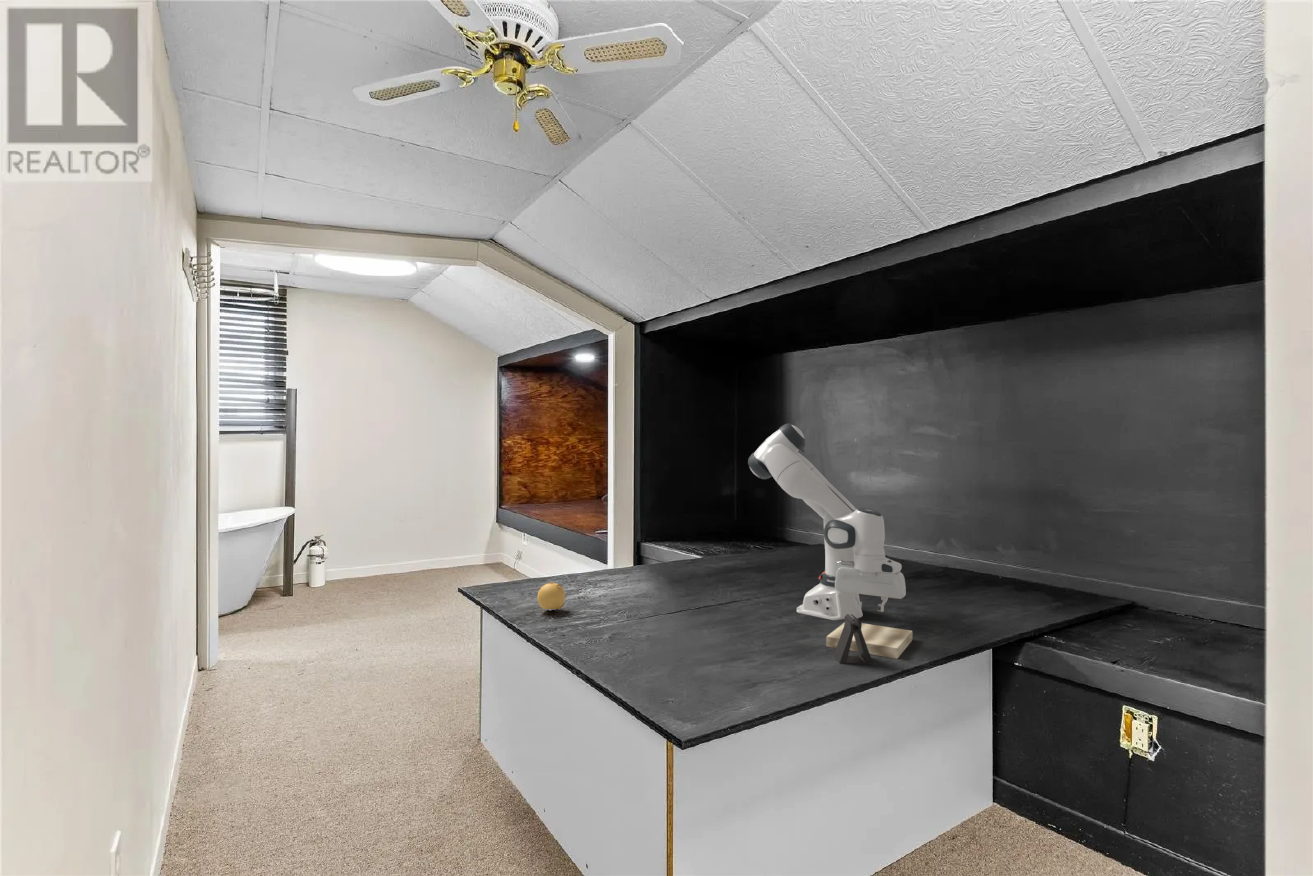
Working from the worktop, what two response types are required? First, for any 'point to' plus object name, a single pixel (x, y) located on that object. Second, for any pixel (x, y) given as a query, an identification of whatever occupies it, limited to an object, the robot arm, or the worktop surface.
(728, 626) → the worktop surface
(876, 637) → the birch plinth
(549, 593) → the stress ball
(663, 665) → the worktop surface
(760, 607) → the worktop surface
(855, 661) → the phone stand
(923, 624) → the worktop surface
